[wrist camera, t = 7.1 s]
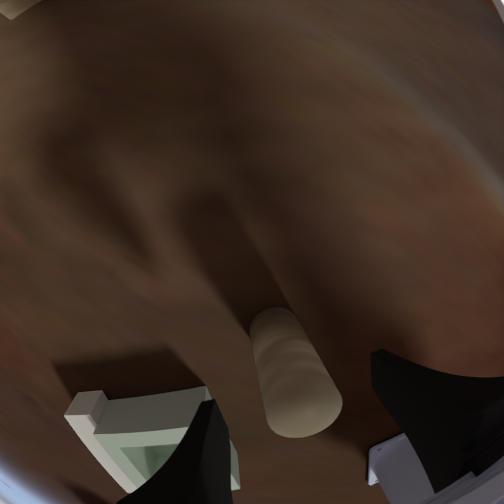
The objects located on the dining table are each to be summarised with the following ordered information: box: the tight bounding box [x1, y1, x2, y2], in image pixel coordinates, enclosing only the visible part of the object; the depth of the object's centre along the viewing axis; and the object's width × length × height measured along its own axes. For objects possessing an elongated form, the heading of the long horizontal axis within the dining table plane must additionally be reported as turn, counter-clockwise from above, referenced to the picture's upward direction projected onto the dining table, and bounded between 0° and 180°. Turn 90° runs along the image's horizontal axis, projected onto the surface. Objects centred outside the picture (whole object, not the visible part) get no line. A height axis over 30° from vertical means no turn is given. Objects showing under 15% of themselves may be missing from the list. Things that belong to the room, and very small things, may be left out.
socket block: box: [93, 386, 240, 490], centre depth 18 cm, size 8×8×4 cm
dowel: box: [249, 307, 342, 438], centre depth 15 cm, size 3×3×8 cm
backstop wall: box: [64, 390, 138, 493], centre depth 18 cm, size 2×10×3 cm, turn 14°
